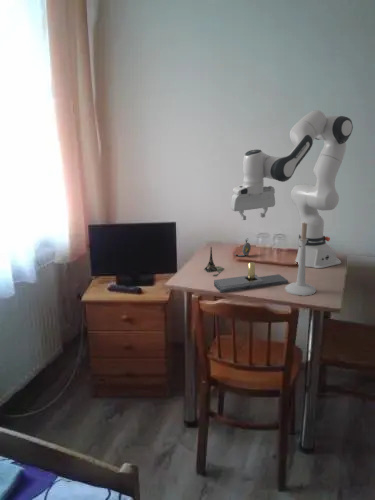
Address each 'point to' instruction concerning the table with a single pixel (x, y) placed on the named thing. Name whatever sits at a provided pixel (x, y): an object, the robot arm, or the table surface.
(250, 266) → the brass pin
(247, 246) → the pocket watch
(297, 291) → the candlestick
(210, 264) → the eiffel tower figurine
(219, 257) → the table surface
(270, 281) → the long grey slab
